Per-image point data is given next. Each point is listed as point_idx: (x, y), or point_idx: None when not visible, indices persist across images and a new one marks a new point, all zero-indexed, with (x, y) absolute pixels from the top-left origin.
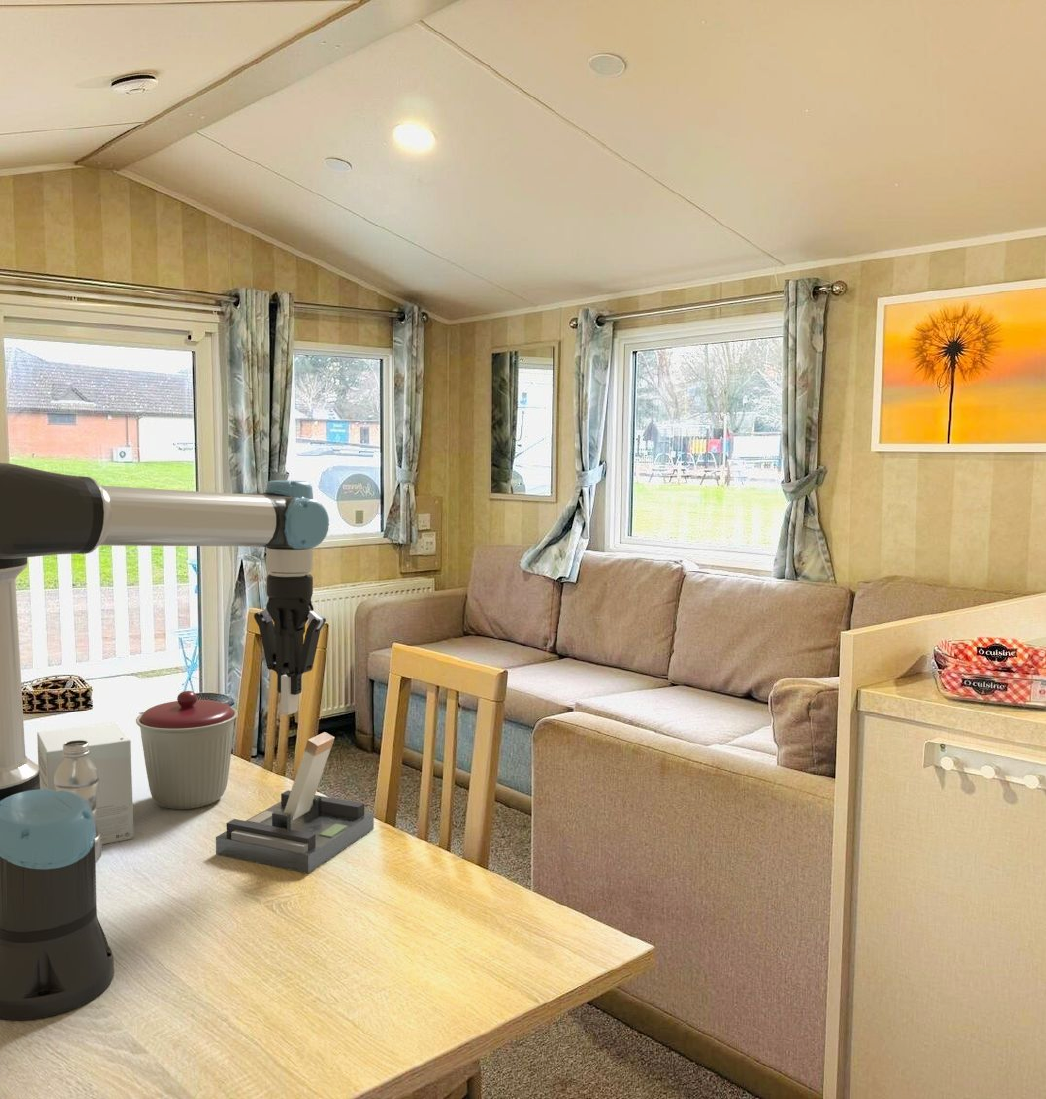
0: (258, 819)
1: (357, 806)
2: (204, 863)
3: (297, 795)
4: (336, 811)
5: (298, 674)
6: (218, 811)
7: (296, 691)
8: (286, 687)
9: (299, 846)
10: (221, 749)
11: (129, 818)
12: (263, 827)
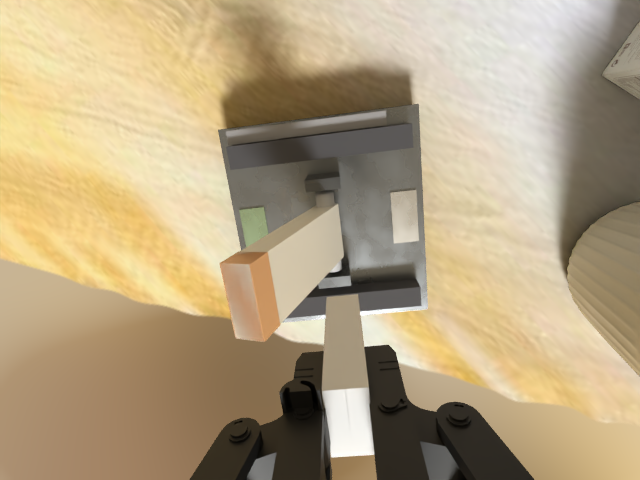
0: (402, 203)
1: None
2: (404, 66)
3: (301, 217)
4: None
5: (276, 421)
6: (538, 246)
7: (297, 362)
8: (335, 354)
9: (234, 130)
10: (617, 315)
11: (633, 63)
12: (333, 144)
